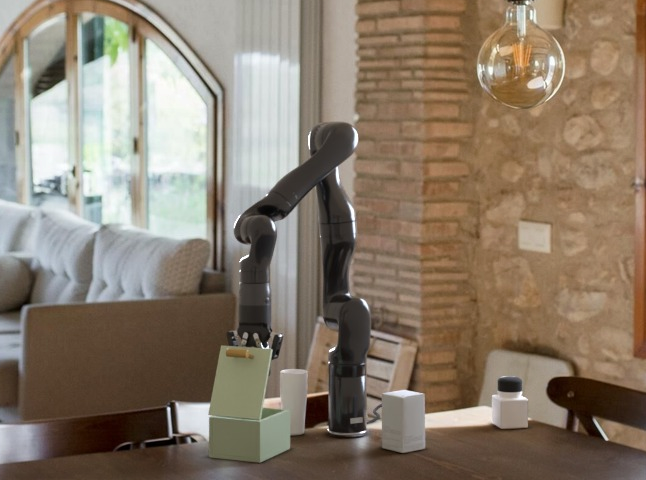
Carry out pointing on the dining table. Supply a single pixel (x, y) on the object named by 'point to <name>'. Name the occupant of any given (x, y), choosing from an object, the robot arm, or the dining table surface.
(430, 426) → the dining table surface
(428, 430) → the dining table surface
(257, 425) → the chest
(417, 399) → the white packaging box
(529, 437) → the dining table surface
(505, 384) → the medicine bottle
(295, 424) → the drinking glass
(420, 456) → the dining table surface
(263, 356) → the lid
